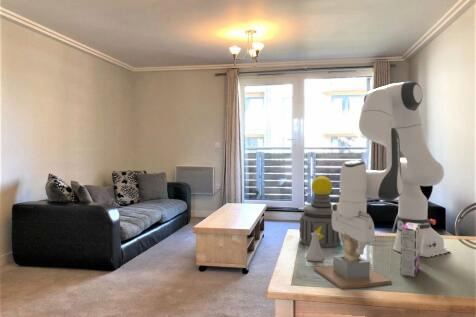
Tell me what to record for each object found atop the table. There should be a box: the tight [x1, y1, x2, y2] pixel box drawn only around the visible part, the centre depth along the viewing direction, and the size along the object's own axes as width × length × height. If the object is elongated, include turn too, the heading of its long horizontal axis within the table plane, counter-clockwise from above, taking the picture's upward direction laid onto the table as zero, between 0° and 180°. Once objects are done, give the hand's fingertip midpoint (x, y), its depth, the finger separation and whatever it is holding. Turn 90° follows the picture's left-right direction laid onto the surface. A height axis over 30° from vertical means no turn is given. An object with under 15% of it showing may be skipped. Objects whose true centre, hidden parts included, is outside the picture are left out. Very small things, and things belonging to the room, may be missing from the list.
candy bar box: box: [400, 222, 420, 278], centre depth 131 cm, size 11×5×16 cm, turn 148°
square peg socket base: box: [313, 254, 392, 290], centre depth 126 cm, size 18×18×6 cm
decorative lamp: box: [299, 175, 341, 249], centre depth 168 cm, size 19×19×30 cm
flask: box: [305, 233, 325, 262], centre depth 144 cm, size 7×7×10 cm
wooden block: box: [343, 232, 359, 262], centre depth 126 cm, size 4×4×14 cm
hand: (351, 249), depth 126 cm, fingers open, 8 cm apart
